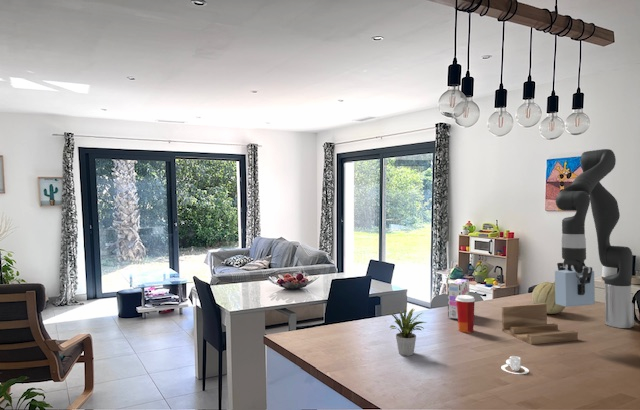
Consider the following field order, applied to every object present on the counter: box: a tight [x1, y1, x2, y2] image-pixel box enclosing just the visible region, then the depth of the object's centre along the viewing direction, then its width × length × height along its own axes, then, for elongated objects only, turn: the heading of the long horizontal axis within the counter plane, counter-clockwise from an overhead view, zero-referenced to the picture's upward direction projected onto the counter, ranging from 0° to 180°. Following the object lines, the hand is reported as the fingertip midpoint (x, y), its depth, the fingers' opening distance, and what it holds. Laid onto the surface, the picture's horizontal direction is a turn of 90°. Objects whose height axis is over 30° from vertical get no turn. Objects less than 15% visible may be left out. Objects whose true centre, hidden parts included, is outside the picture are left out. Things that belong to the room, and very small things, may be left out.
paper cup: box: [455, 294, 476, 334], centre depth 173 cm, size 8×8×14 cm
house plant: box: [388, 305, 428, 356], centre depth 147 cm, size 14×14×16 cm
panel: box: [554, 270, 596, 308], centre depth 152 cm, size 12×5×12 cm, turn 102°
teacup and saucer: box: [500, 355, 530, 375], centre depth 132 cm, size 9×8×4 cm
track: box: [501, 303, 579, 345], centre depth 165 cm, size 17×20×10 cm
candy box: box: [447, 278, 470, 321], centre depth 195 cm, size 14×6×16 cm, turn 143°
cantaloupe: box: [531, 281, 566, 315], centre depth 198 cm, size 15×15×15 cm
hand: (574, 293), depth 152 cm, fingers closed on panel, 5 cm apart
